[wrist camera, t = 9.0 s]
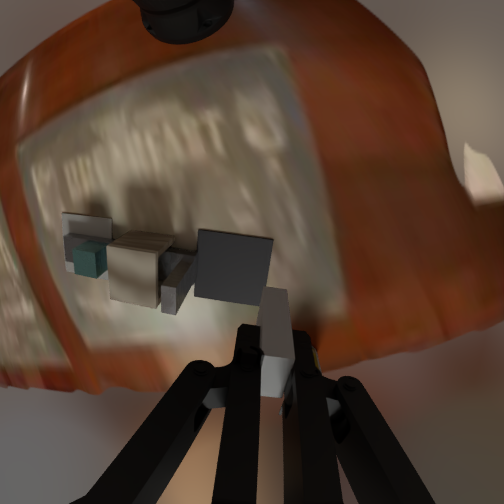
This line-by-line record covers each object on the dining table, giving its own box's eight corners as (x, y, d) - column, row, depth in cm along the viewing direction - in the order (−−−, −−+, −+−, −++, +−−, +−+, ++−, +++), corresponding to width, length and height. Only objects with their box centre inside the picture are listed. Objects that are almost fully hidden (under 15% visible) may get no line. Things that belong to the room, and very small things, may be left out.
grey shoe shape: (198, 229, 45) (198, 229, 45) (273, 239, 45) (273, 240, 45) (194, 295, 49) (194, 296, 49) (262, 305, 49) (262, 306, 49)
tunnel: (131, 230, 46) (106, 245, 38) (174, 235, 46) (155, 253, 38) (132, 276, 49) (110, 298, 41) (172, 284, 49) (156, 308, 40)
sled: (69, 232, 46) (28, 254, 34) (198, 251, 46) (176, 284, 34) (71, 257, 48) (32, 282, 36) (196, 279, 48) (175, 318, 36)
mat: (62, 212, 45) (61, 213, 45) (111, 218, 45) (111, 218, 45) (66, 270, 49) (66, 270, 49) (114, 280, 49) (113, 281, 49)
